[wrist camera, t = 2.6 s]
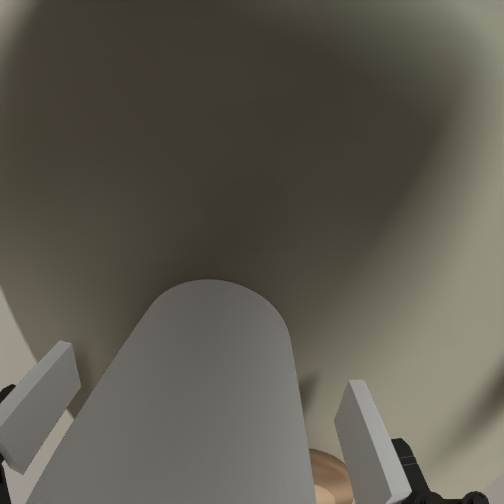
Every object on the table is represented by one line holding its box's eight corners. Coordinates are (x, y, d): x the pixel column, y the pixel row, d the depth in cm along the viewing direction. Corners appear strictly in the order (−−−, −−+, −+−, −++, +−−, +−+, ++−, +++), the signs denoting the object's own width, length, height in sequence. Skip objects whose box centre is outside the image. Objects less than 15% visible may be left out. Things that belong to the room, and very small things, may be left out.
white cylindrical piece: (159, 404, 17) (101, 573, 6) (125, 284, 15) (-30, 459, 4) (292, 402, 17) (313, 594, 5) (288, 273, 15) (348, 526, 3)
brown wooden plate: (186, 436, 18) (180, 461, 16) (372, 443, 18) (380, 465, 16) (191, 512, 22) (188, 530, 19) (324, 517, 22) (327, 535, 20)
